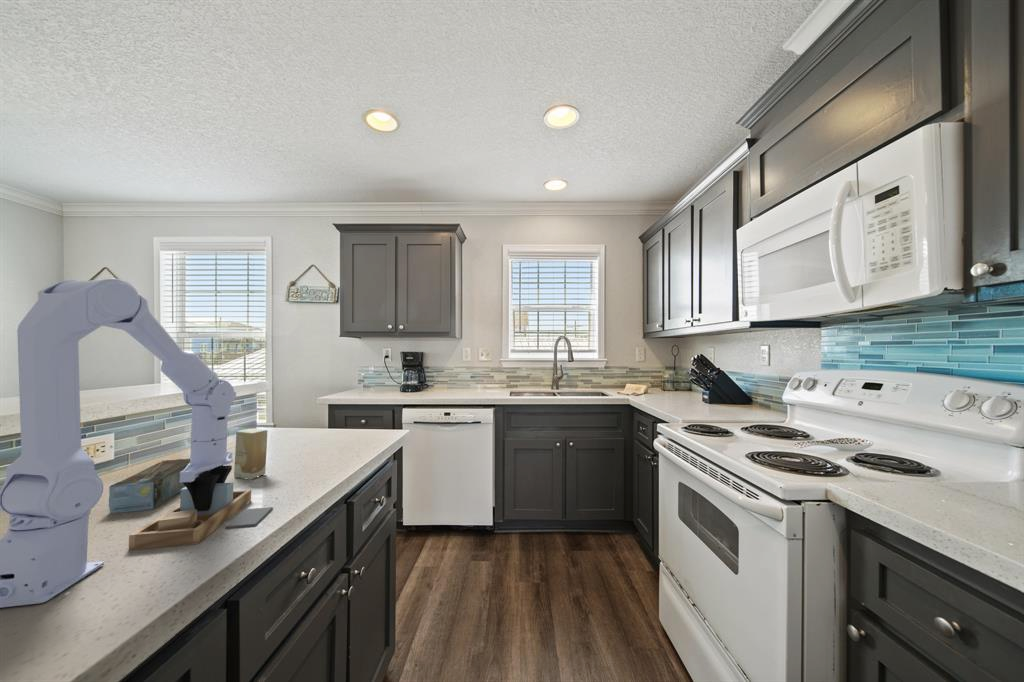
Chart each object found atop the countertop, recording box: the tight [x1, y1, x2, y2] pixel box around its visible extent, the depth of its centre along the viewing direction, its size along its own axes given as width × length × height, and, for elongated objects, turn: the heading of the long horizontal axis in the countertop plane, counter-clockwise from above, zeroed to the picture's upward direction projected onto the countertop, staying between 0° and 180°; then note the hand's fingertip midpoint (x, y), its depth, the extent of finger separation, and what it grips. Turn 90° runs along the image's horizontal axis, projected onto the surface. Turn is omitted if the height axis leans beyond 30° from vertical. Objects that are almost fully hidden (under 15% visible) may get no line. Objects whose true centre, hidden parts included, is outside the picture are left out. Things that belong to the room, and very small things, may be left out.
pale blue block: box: [179, 481, 234, 515], centre depth 76 cm, size 2×8×6 cm, turn 102°
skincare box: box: [233, 428, 268, 480], centre depth 101 cm, size 6×4×12 cm
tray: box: [128, 489, 252, 551], centre depth 73 cm, size 20×10×2 cm, turn 12°
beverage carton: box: [108, 458, 190, 514], centre depth 87 cm, size 8×19×7 cm, turn 17°
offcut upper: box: [158, 510, 197, 531], centre depth 67 cm, size 3×4×2 cm
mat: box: [224, 506, 274, 529], centre depth 75 cm, size 8×5×1 cm, turn 12°
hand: (207, 507), depth 76 cm, fingers closed on pale blue block, 2 cm apart
